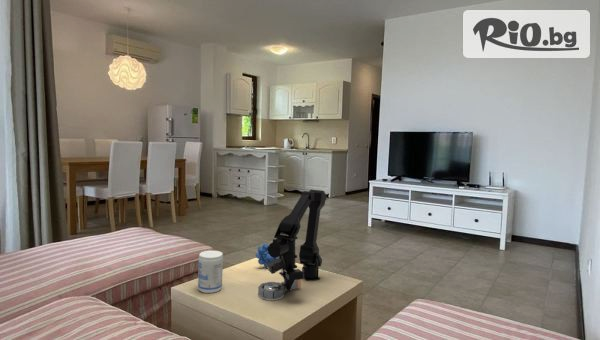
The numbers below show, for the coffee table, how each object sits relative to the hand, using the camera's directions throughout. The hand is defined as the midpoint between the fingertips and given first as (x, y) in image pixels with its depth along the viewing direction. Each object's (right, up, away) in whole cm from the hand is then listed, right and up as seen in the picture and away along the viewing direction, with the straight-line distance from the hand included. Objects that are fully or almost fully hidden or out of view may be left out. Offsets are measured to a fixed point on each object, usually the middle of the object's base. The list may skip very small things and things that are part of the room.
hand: (288, 291), depth 149 cm
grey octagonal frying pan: (-3, 0, +1) cm, 3 cm away
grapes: (-11, +1, +29) cm, 31 cm away
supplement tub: (-32, 0, +3) cm, 32 cm away
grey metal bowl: (-7, -1, -1) cm, 7 cm away
